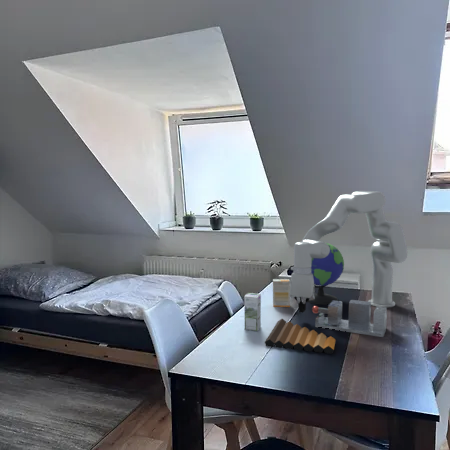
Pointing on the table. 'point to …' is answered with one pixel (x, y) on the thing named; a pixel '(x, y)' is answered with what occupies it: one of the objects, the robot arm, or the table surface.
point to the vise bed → (374, 329)
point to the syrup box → (252, 311)
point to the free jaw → (331, 312)
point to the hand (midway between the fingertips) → (302, 311)
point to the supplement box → (281, 293)
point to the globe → (326, 274)
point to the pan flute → (299, 338)
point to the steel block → (359, 314)
